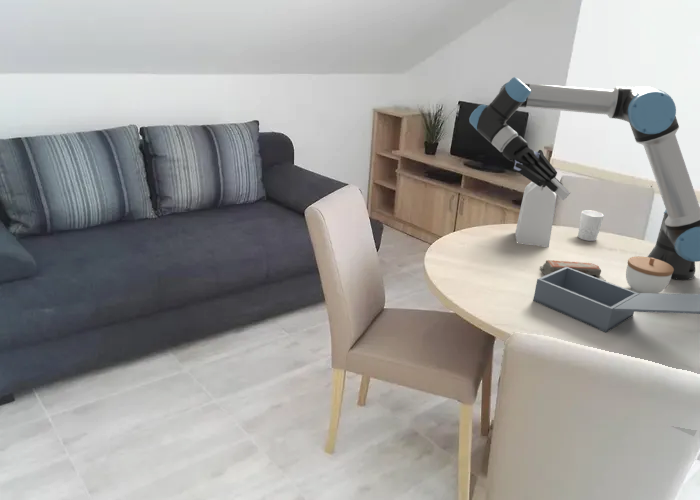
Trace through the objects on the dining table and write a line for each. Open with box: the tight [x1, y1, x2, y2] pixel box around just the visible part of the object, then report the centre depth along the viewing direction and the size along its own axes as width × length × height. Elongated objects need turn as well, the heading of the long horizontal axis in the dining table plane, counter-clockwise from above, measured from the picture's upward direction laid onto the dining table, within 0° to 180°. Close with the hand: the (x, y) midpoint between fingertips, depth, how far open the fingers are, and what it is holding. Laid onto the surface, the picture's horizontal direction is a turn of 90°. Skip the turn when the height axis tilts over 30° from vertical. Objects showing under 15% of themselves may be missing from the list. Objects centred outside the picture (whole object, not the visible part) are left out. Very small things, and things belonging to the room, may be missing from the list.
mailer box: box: [532, 267, 639, 333], centre depth 162 cm, size 22×16×7 cm
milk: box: [515, 181, 557, 248], centre depth 210 cm, size 12×12×26 cm
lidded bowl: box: [625, 255, 674, 294], centre depth 175 cm, size 13×13×11 cm
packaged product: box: [539, 259, 607, 281], centre depth 184 cm, size 18×5×10 cm
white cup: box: [577, 209, 604, 242], centre depth 218 cm, size 8×8×10 cm
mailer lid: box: [614, 292, 700, 315], centre depth 144 cm, size 22×16×1 cm
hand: (566, 196), depth 169 cm, fingers closed
